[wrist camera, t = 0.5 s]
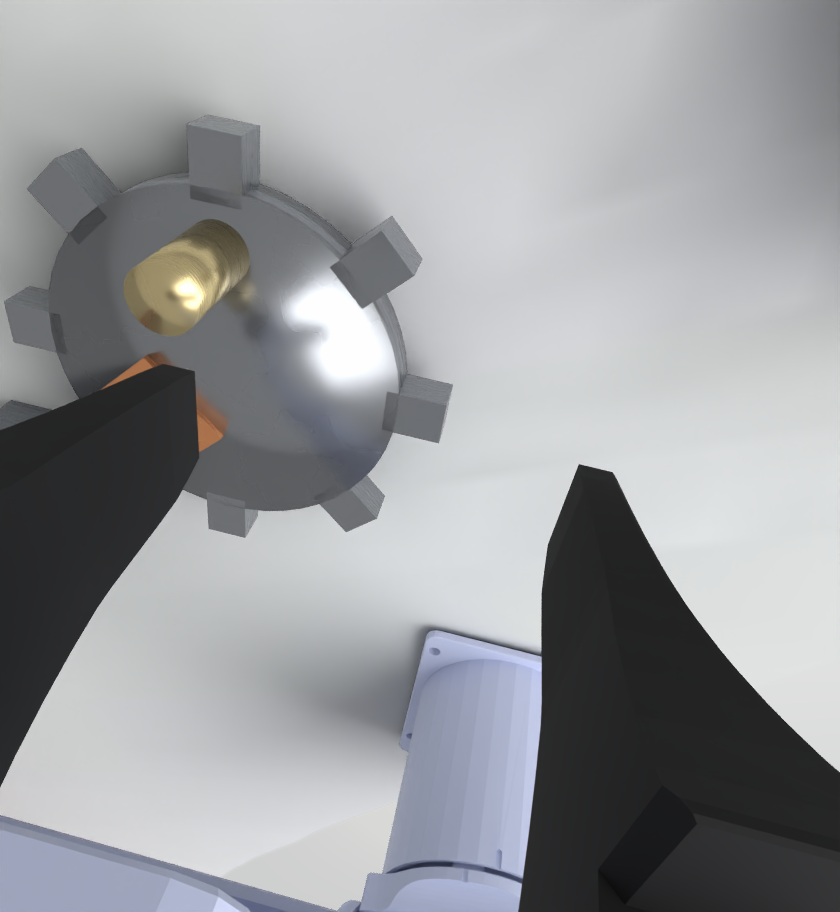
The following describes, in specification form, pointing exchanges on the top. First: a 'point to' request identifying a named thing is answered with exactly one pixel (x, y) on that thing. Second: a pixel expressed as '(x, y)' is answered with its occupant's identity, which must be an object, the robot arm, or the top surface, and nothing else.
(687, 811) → the robot arm
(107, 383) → the sprocket
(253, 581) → the top surface
